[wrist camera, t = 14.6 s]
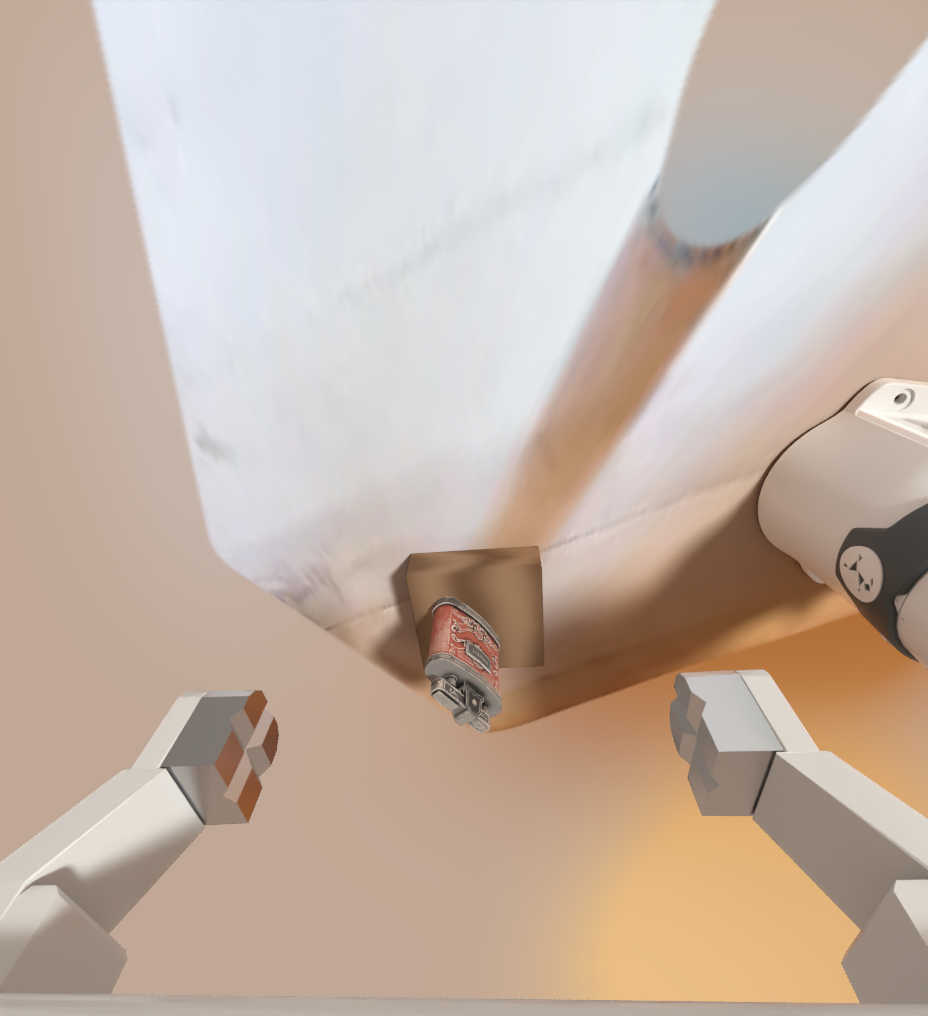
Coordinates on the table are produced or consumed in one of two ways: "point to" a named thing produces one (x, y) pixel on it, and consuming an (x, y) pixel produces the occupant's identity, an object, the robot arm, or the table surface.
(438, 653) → the lighter
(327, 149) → the table surface
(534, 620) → the walnut base
